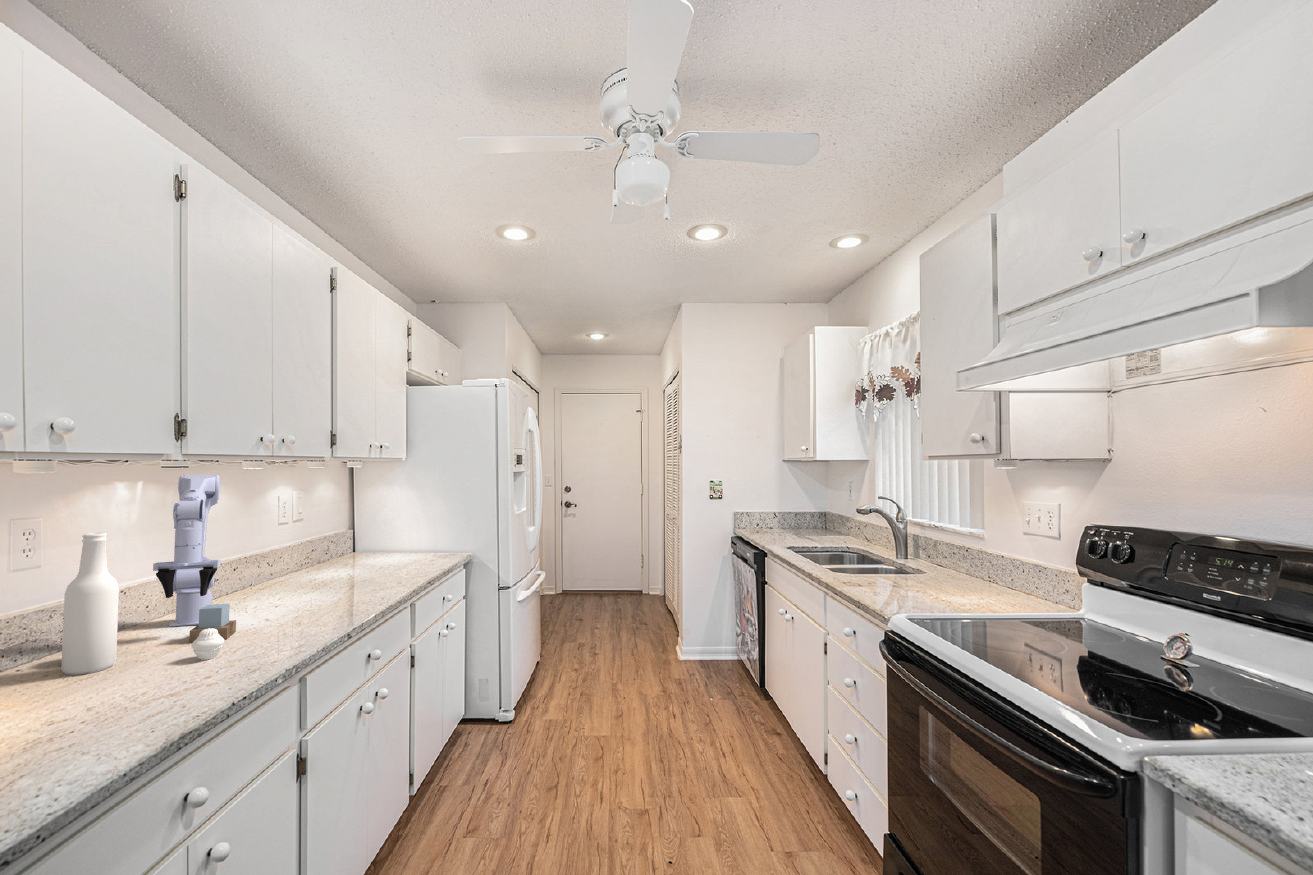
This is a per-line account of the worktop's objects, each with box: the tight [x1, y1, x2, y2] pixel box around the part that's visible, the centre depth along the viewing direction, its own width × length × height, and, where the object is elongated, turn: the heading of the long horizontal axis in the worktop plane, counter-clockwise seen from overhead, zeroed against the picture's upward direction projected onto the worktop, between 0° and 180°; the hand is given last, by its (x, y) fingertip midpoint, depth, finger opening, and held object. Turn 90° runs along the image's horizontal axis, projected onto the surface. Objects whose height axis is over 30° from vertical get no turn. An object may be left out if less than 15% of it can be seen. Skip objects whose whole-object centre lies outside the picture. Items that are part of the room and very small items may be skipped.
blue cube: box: [199, 603, 231, 629], centre depth 155 cm, size 5×5×5 cm
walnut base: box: [188, 619, 237, 644], centre depth 155 cm, size 8×8×4 cm
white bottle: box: [60, 532, 120, 676], centre depth 131 cm, size 9×9×30 cm
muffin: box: [191, 628, 225, 661], centre depth 138 cm, size 6×6×7 cm
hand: (186, 596), depth 157 cm, fingers open, 7 cm apart
